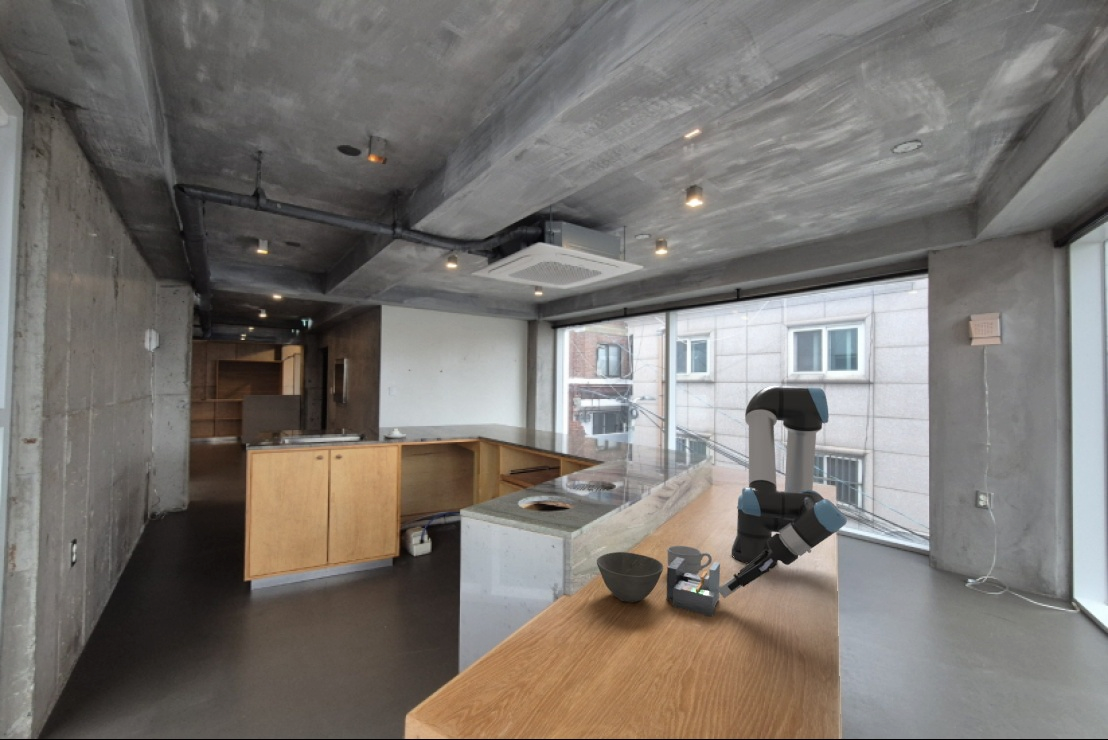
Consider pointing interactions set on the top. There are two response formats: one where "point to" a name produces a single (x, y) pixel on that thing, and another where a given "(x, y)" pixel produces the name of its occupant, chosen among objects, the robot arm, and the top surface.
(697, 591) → the orange bar
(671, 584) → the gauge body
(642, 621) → the top surface
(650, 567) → the bowl
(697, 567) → the teacup
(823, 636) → the top surface
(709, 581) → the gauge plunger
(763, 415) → the robot arm
